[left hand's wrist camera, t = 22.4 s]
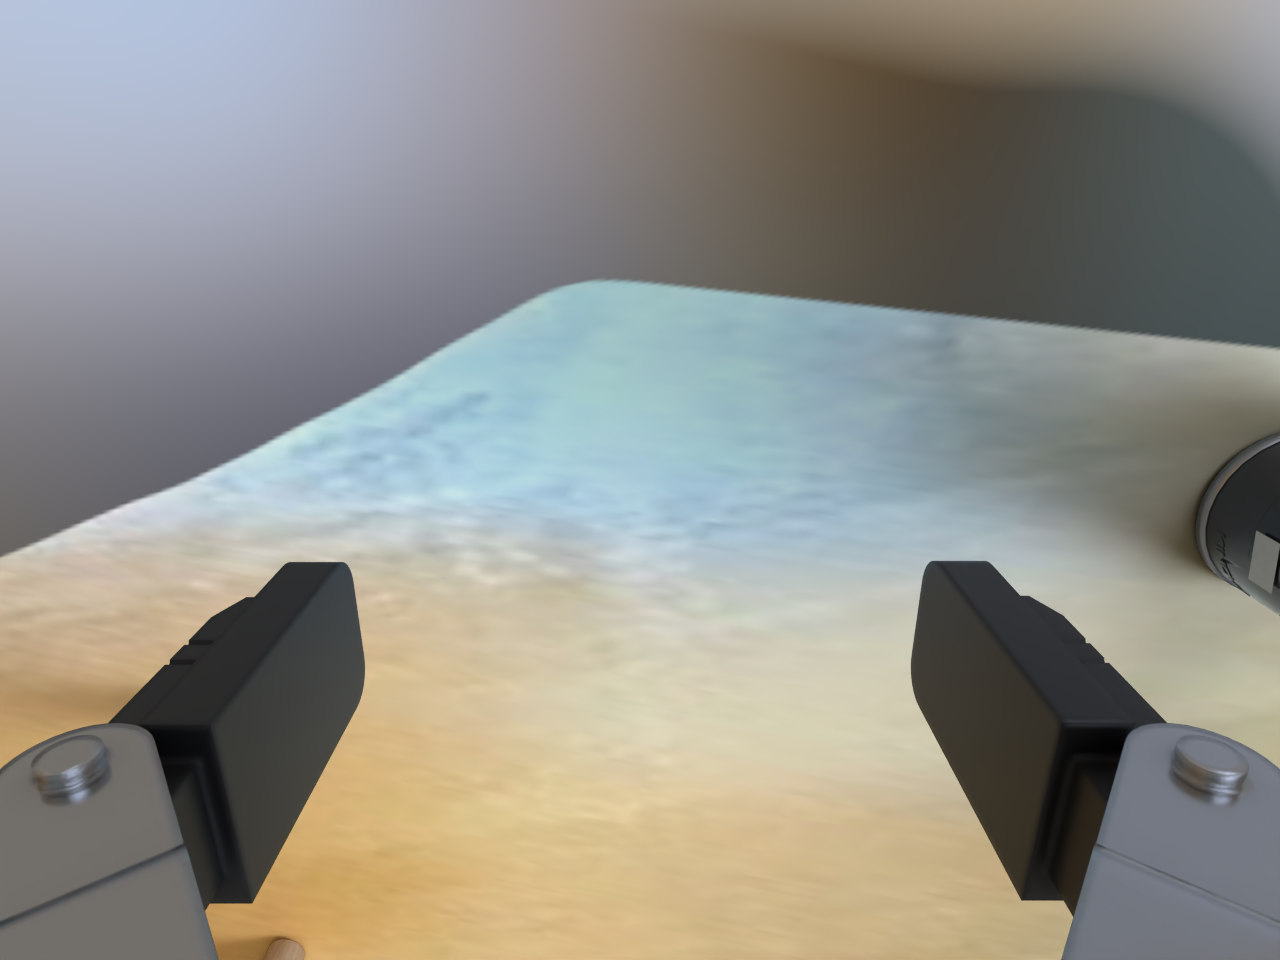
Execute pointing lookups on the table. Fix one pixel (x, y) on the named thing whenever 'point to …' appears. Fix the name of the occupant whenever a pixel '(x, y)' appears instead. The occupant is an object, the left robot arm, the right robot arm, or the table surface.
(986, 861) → the table surface
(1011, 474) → the table surface
